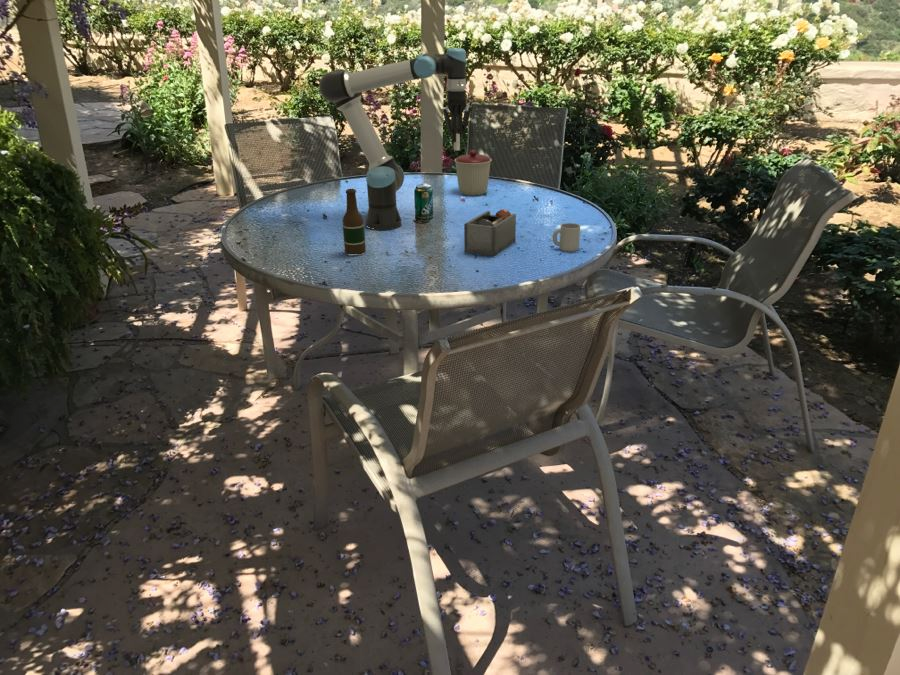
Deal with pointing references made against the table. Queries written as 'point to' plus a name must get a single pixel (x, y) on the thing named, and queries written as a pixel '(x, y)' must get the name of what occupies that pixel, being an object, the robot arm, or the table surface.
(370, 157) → the robot arm
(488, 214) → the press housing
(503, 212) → the plunger
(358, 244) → the beer bottle
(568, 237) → the cup
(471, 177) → the canister
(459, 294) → the table surface
